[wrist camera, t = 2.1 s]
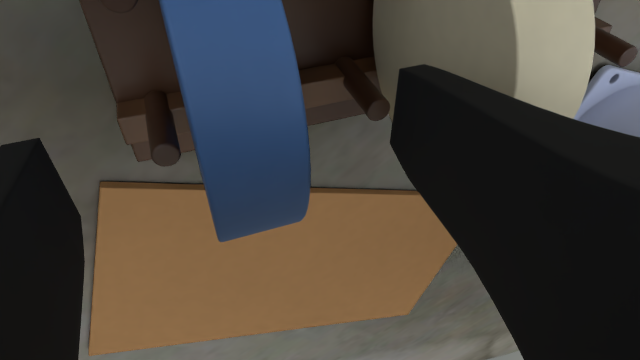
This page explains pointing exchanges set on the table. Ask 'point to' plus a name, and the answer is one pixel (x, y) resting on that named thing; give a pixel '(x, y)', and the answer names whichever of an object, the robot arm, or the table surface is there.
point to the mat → (254, 265)
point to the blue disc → (242, 110)
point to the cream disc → (491, 46)
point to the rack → (311, 54)
